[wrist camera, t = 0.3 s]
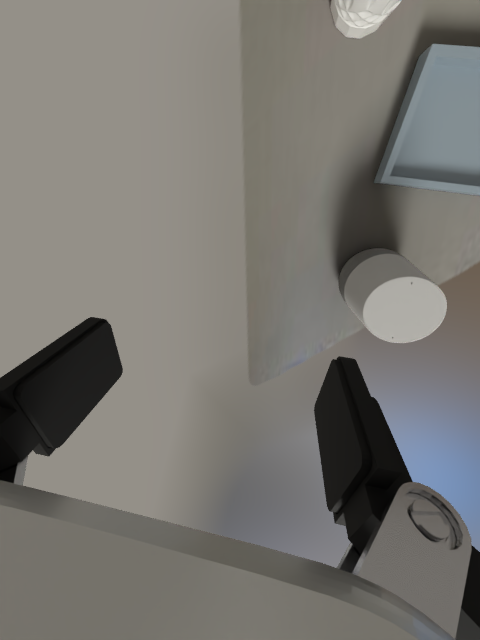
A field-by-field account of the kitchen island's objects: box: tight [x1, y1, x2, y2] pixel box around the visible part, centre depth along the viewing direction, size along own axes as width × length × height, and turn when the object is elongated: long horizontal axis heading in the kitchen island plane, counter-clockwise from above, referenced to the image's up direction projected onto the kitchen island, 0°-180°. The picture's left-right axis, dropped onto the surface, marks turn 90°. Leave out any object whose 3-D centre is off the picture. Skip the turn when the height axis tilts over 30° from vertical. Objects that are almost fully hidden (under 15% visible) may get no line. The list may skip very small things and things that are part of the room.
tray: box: [374, 44, 480, 196], centre depth 25 cm, size 12×16×2 cm
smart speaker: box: [339, 248, 447, 343], centre depth 30 cm, size 10×9×14 cm
